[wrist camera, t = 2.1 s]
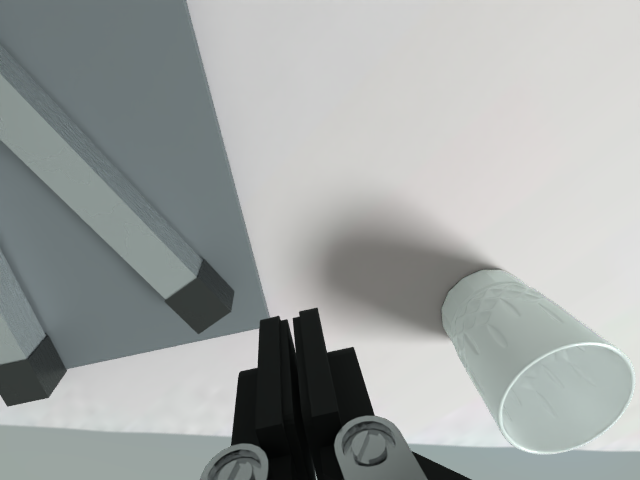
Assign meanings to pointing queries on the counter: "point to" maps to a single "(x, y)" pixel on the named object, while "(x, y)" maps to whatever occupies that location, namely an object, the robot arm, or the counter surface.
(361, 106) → the counter surface
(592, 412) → the white cup
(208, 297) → the moving tong arm
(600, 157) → the counter surface
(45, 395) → the bar
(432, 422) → the counter surface
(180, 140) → the slate board
